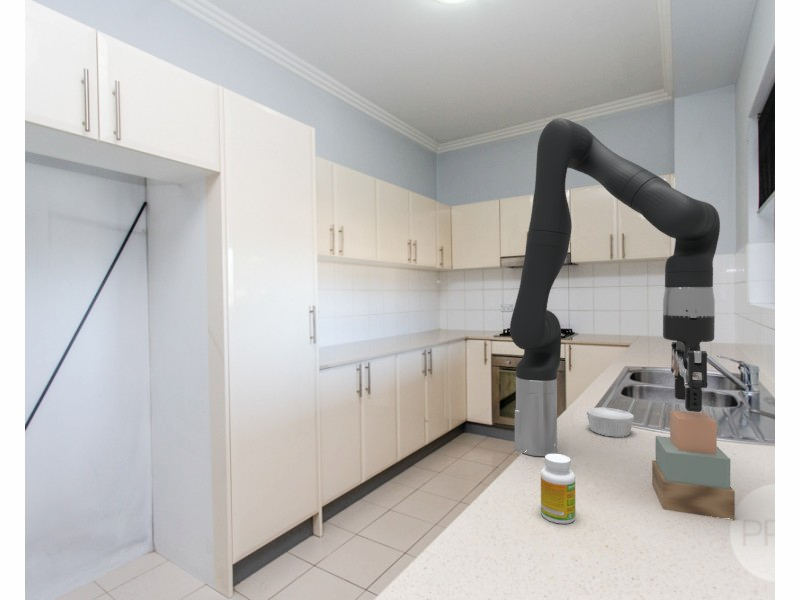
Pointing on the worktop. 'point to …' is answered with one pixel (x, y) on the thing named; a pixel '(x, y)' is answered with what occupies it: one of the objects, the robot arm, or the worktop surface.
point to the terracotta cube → (693, 432)
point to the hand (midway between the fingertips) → (687, 404)
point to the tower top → (692, 465)
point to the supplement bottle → (558, 489)
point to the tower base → (693, 497)
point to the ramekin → (610, 421)
